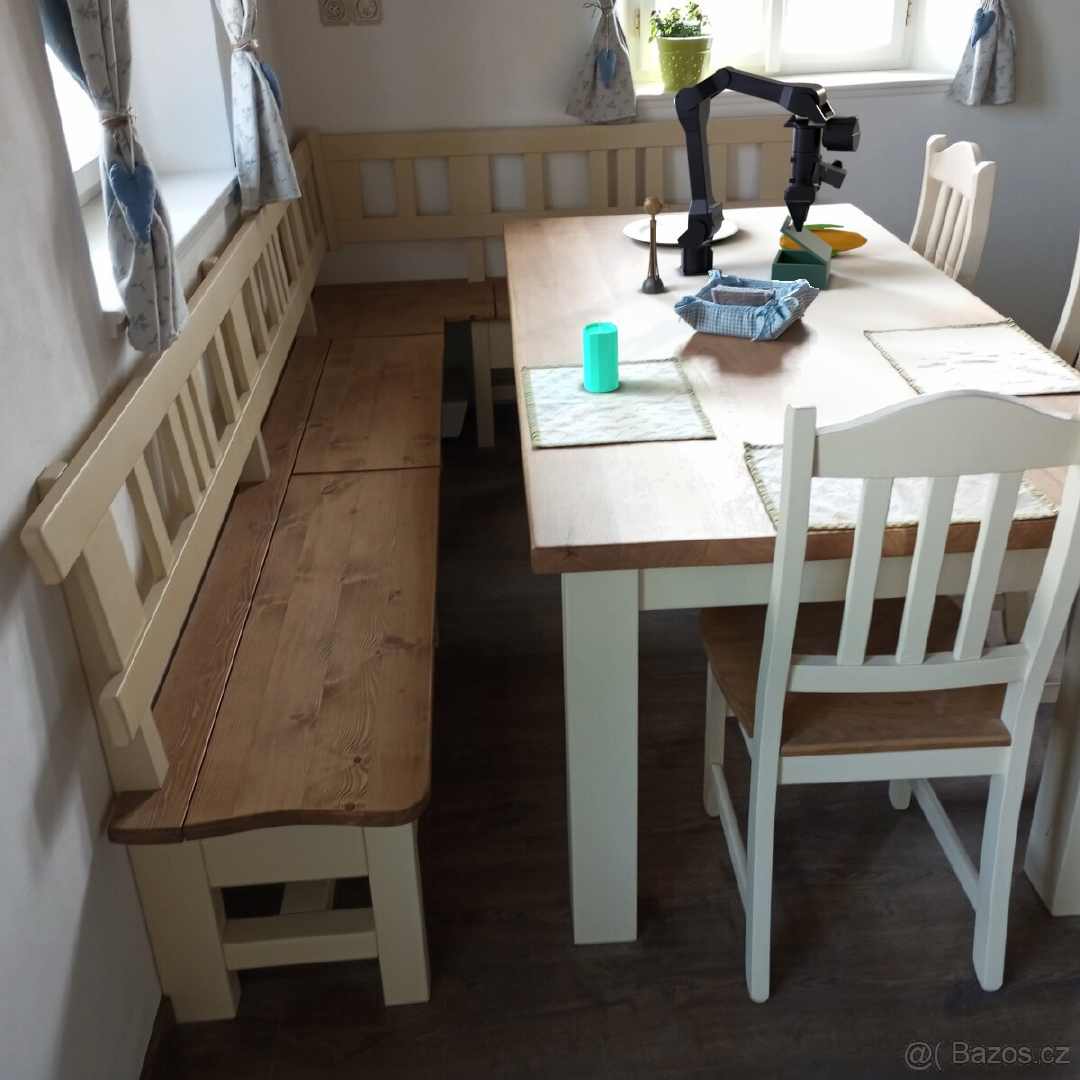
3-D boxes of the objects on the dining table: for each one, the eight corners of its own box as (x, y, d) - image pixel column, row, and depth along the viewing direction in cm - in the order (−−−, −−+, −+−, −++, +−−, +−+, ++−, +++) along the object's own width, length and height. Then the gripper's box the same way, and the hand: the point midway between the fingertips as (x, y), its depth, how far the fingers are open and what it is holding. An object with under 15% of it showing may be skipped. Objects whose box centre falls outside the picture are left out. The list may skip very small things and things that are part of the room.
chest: (770, 288, 235) (772, 264, 233) (777, 272, 245) (778, 249, 243) (825, 290, 232) (826, 265, 229) (829, 274, 242) (831, 250, 240)
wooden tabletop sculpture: (670, 287, 239) (671, 194, 229) (666, 294, 235) (667, 199, 225) (644, 287, 240) (643, 194, 231) (639, 293, 237) (639, 198, 227)
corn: (779, 219, 256) (866, 217, 254) (777, 251, 260) (863, 249, 258) (781, 229, 250) (871, 227, 248) (779, 261, 254) (867, 260, 252)
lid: (779, 230, 229) (791, 215, 227) (786, 217, 239) (797, 202, 237) (826, 265, 229) (838, 250, 227) (830, 250, 240) (842, 235, 237)
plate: (756, 227, 282) (756, 219, 282) (709, 254, 261) (709, 246, 260) (655, 218, 297) (655, 211, 296) (603, 243, 275) (602, 236, 275)
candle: (597, 377, 193) (596, 311, 187) (625, 384, 190) (624, 317, 184) (577, 388, 189) (574, 321, 183) (605, 395, 186) (603, 326, 180)
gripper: (843, 158, 216) (836, 238, 223) (849, 142, 231) (843, 217, 239) (786, 158, 219) (781, 237, 226) (795, 142, 234) (791, 216, 242)
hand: (801, 226), depth 233 cm, fingers open, 9 cm apart
